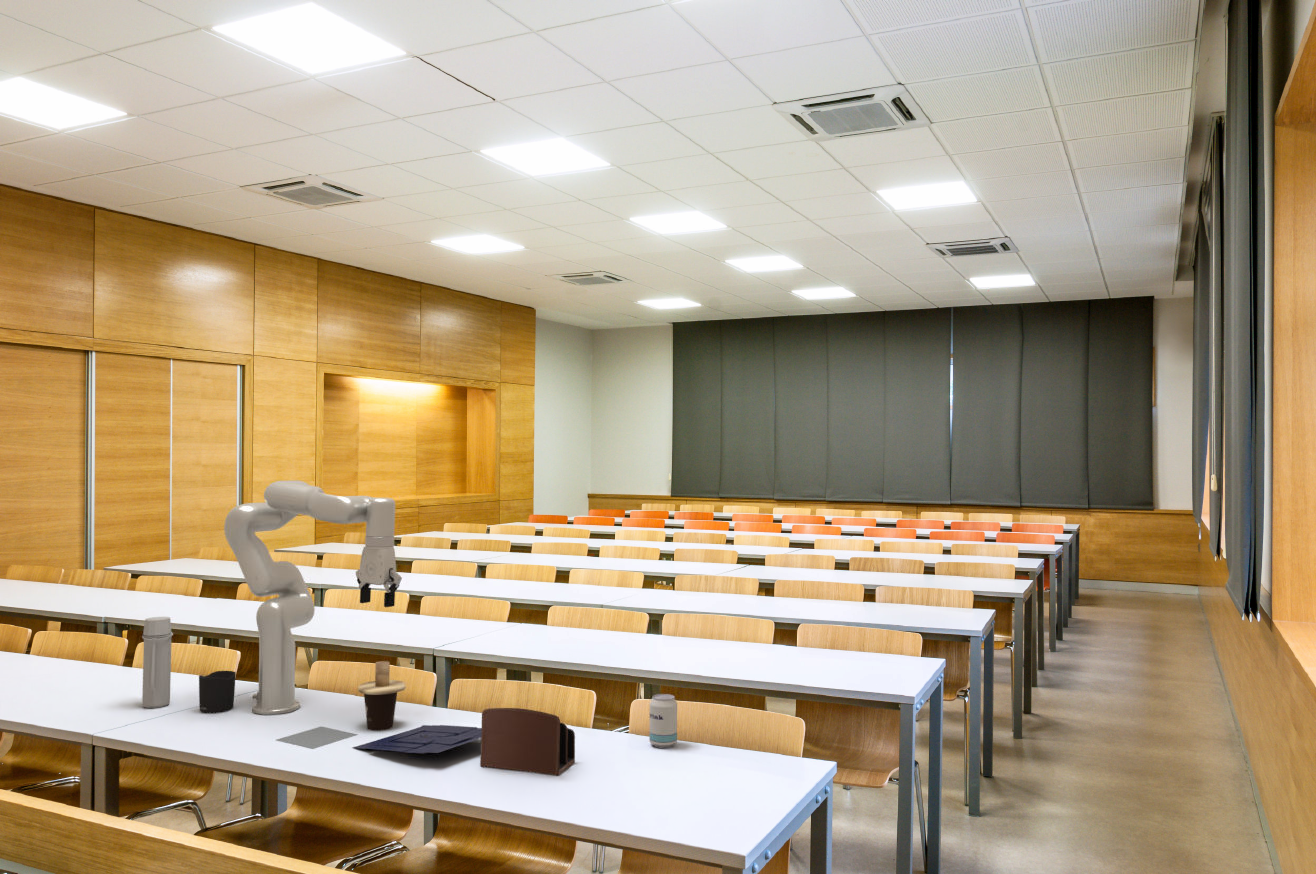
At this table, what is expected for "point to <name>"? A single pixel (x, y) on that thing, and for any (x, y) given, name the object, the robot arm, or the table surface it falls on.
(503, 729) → the letter holder
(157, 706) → the water bottle
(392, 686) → the lid
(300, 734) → the mat
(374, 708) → the coffee mug
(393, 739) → the dark blue tray
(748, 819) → the table surface
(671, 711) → the beverage can
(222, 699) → the pen holder
